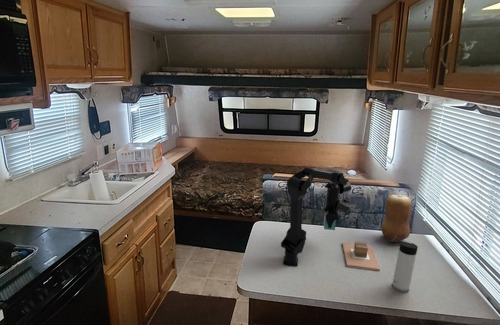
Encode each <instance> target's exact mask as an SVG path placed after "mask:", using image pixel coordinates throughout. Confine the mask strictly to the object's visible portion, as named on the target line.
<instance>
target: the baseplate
mask: <svg viewBox="0 0 500 325" xmlns="http://www.w3.org/2000/svg"><path fill="white" fill-rule="evenodd" d="M341 246H342V250H343V255H344V259H345V264H346V267H348V268H355V269H364V270H369V271H370V270H371V271H381V268H380V264H379V262H378V260H377V257H376V254H375V251H374V249H373V246H372V245H369V244H367V247H368V251H367V258H364V257H356V256H355V254H354V246H355V242H354V243H352V242H346V241H345V242H344V241H342V245H341Z"/></svg>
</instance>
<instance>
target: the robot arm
mask: <svg viewBox="0 0 500 325" xmlns="http://www.w3.org/2000/svg"><path fill="white" fill-rule="evenodd" d="M306 177H307V179H306V180H303V179H304V178H306ZM314 179H318V180H324V181H325V180H326V181H328V182H327V184H325V185H324V188H326V195H325V199H324V200H323V201H322V202H323V203H322V205H323V206H324V207H323V210H324V216H325V219H326V221H327V224H328V228H331V227H332V224H333V222H334V220H336V222H337V221H340V213H339V212H338V211H339V210H340V211H343V212H344V213H346V214H348V213H349V211H350V209H351V206H350V203H348V200H347V199H346V198H342V199H340V195H343V194H345V193H349V192H351V191H352V184H351V183H350V182H349V181H350V180H349V178H345V175H344V173H343V172H341V171H339V170H335V169H332V168H331V169H330V168H328V169H326V170H324V169H318V168H312V167H309V166H307V167H304V168H303V169H302V170H301V171H298V172H296V173H294V174H293V175H292V176H291V177H290V178H289V179H288V180H287V182H286V190H287V193H288V195H289V197H290V215H289V216H290V218H289V220H290V222H289V224H290V226H289V228H288V230H287V231H286V233H285V234H286V235H285V237H284V238H283V239H282V241H281V243H280V247H281V248H283V249H284V255H283V260H282V265H284V266H290V267H291V266H292V267H298V266H299V265H298V264H299V257H298V254H299V255H300V254H301V253H302V252H303V250H304V247H305V244H306V241H307V231H306V230H304V229H302V228H303V227H302V223H303V222H302V221H303V200H304V199H303V198H304V197H305V196H306V194H307V190H308V189H309V188H310V187H311V186H312V183H313V180H314Z"/></svg>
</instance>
